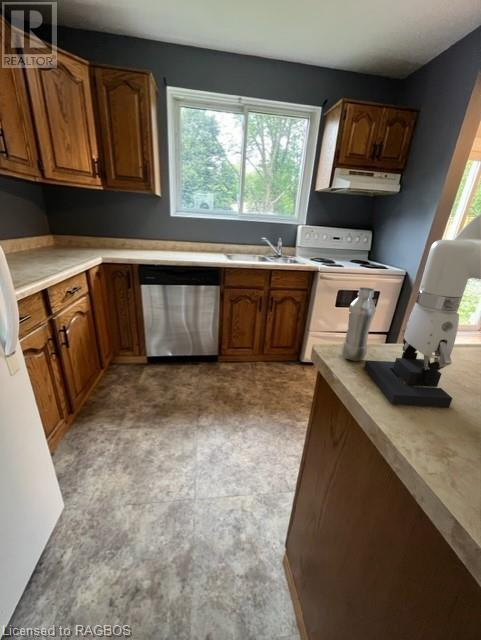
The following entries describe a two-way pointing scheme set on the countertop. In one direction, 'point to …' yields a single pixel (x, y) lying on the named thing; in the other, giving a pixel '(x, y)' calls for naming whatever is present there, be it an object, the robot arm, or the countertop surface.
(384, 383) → the notched tile
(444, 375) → the countertop surface
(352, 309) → the plastic bottle
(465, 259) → the robot arm
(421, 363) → the black pad
